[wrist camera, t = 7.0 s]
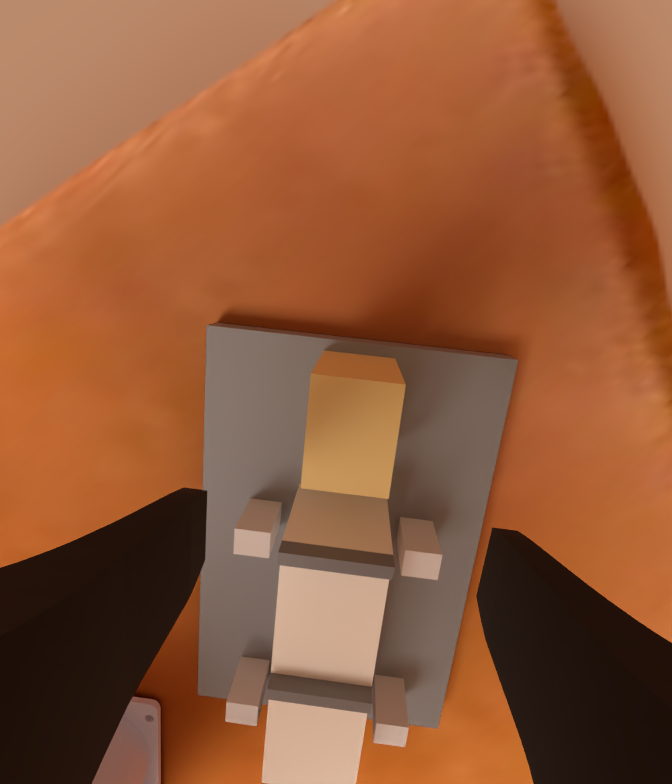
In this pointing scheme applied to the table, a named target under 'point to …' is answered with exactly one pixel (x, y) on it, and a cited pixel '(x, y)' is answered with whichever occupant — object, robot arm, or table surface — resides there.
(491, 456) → the jig
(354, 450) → the tan rectangular block
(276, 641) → the cream rectangular block
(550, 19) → the table surface
